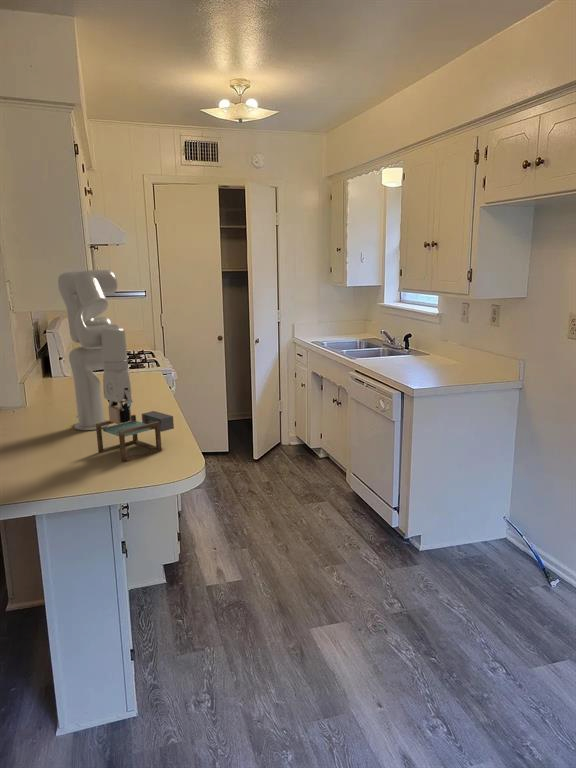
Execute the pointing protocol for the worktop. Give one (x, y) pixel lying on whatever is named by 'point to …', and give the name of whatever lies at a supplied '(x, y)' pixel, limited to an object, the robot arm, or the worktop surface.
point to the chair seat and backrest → (143, 423)
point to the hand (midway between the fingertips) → (120, 419)
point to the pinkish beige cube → (116, 414)
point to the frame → (135, 440)
